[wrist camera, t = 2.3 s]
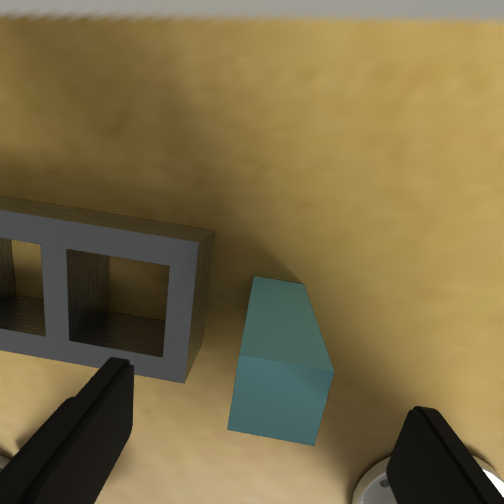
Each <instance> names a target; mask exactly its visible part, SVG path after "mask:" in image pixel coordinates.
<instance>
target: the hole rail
mask: <svg viewBox="0 0 504 504" xmlns="http://www.w3.org/2000/svg"><path fill="white" fill-rule="evenodd" d="M11 239H13V240H19V241H24V242H30V243H36V244H41V258H42V276H43V294H44V300H41V299H36V298H30V297H24V296H18V295H16V294H15V282H14V271H13V259H12V248H11ZM213 239H214V231H213V230H207V229H201V228H195V227H189V226H182V225H176V224H170V223H164V222H158V221H152V220H145V219H139V218H133V217H127V216H121V215H115V214H108V213H102V212H96V211H90V210H84V209H78V208H72V207H65V206H59V205H53V204H47V203H41V202H35V201H28V200H22V199H16V198H10V197H4V196H0V350H2V351H8V352H13V353H19V354H24V355H30V356H35V357H41V358H46V359H52V360H58V361H63V362H69V363H74V364H80V365H85V366H91V367H96V368H101V367H102V366H103V364H104V363H105V362H106V361H107V360H108V359H109V358H110V357H116V358H123V359H128V360H129V361H130V365H134V374H135V375H140V376H146V377H151V378H157V379H162V380H168V381H173V382H179V383H184V384H185V381H186V379H187V377H188V375H189V372H190V370H191V368H192V366H193V363H194V361H195V359H196V356H197V354H198V352H199V350H200V347H201V343H202V334H203V326H204V317H205V308H206V300H207V291H208V282H209V274H210V265H211V257H212V248H213ZM109 256H114V257H120V258H126V259H132V260H138V261H144V262H150V263H156V264H162V265H168V266H170V270H169V283H168V296H167V310H166V321H162V320H156V319H150V318H145V317H139V316H133V315H127V314H122V313H116V312H110V311H108V298H109Z"/></svg>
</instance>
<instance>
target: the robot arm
mask: <svg viewBox="0 0 504 504" xmlns="http://www.w3.org/2000/svg"><path fill="white" fill-rule="evenodd" d="M133 391H134V365H130V361H129V360H128V359H123V358H116V357H110V358H109V359H108V360H107V361H106V362H105V363H104V364H103V366H102V367H101V368H100V369H99V370H98V371H97V372H96V374H95V375H94V376H93V377H92V378H91V379H90V380H89V381H88V383H87V384H86V385H85V386H84V387H83V388H82V389H81V391H80V392H79V393H78V394H77V395H76V396H75V397H70V398H68V399H67V400H66V401H64V402H63V403H62V404H61V405H60V406H59V408H58V409H57V410H56V411H55V412H54V413H53V414H52V415H51V416H50V417H49V419H48V420H47V421H46V422H45V423H44V424H43V425H42V426H41V427H40V428H39V430H38V431H37V432H36V433H35V434H34V435H33V436H32V437H31V438H30V439H29V441H28V442H27V443H26V444H25V445H24V446H23V447H22V448H21V449H20V450H19V452H18V453H17V454H16V455H15V456H14V457H13V458H12V459H11V460H10V461H9V462H8V464H7V465H6V466H5V467H4V468H3V469H2V470H1V471H0V504H94V503H95V501H96V499H97V497H98V495H99V493H100V491H101V490H102V488H103V486H104V484H105V482H106V480H107V478H108V476H109V474H110V473H111V471H112V469H113V467H114V465H115V463H116V461H117V459H118V457H119V456H120V454H121V452H122V450H123V448H124V446H125V444H126V442H127V440H128V438H129V436H130V434H131V430H132V425H133ZM352 504H504V481H503V479H502V478H501V477H500V475H499V474H498V473H497V472H496V471H495V470H494V469H493V468H492V467H491V466H490V465H488V464H487V463H485V462H484V461H482V460H481V459H479V458H477V457H475V456H472V455H471V453H470V452H469V451H468V449H467V448H466V447H465V445H464V444H463V443H462V441H461V440H460V439H459V437H458V436H457V435H456V434H455V432H454V431H453V430H452V428H451V427H450V426H449V424H448V423H447V422H446V420H445V419H444V418H443V416H442V415H441V414H440V413H439V411H438V410H436V409H434V408H427V407H421V406H415V407H414V408H413V410H410V411H409V412H408V414H407V417H406V419H405V422H404V424H403V427H402V429H401V432H400V434H399V437H398V439H397V442H396V444H395V447H394V449H393V452H392V454H391V456H390V457H388V458H386V459H384V460H382V461H381V462H379V463H377V464H376V465H375V466H373V467H372V468H371V469H370V470H369V471H367V472H366V474H365V475H364V476H363V477H362V479H361V480H360V481H359V483H358V485H357V487H356V489H355V491H354V494H353V499H352Z"/></svg>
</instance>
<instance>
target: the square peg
mask: <svg viewBox="0 0 504 504" xmlns="http://www.w3.org/2000/svg"><path fill="white" fill-rule="evenodd" d="M333 375H334V369H333V366H332V363H331V360H330V358H329V355H328V352H327V349H326V346H325V343H324V340H323V338H322V335H321V332H320V329H319V326H318V323H317V320H316V318H315V315H314V312H313V309H312V306H311V303H310V300H309V298H308V295H307V292H306V289H305V286H304V284H299V283H293V282H287V281H281V280H275V279H269V278H263V277H257V276H254V279H253V284H252V289H251V295H250V300H249V305H248V311H247V316H246V321H245V327H244V332H243V337H242V343H241V348H240V353H239V359H238V365H237V372H236V378H235V384H234V390H233V397H232V403H231V409H230V415H229V422H228V428H227V430H231V431H237V432H242V433H248V434H253V435H258V436H264V437H269V438H274V439H280V440H285V441H290V442H296V443H301V444H307V445H312V446H314V445H315V441H316V437H317V434H318V430H319V426H320V423H321V419H322V415H323V411H324V408H325V404H326V400H327V397H328V393H329V389H330V386H331V382H332V378H333Z"/></svg>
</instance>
